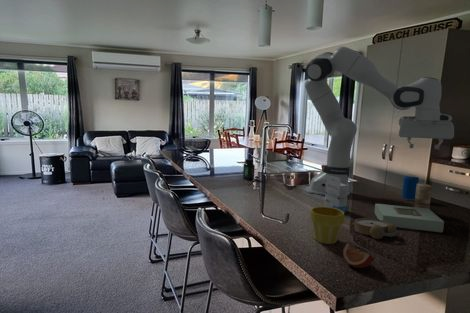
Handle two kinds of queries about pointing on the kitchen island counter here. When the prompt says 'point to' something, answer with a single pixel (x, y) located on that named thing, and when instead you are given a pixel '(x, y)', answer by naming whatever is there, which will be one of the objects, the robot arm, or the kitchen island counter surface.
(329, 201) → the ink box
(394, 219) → the board
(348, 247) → the fruit slice
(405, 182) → the beverage can
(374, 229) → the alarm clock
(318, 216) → the plant pot
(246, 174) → the supplement bottle
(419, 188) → the leg
